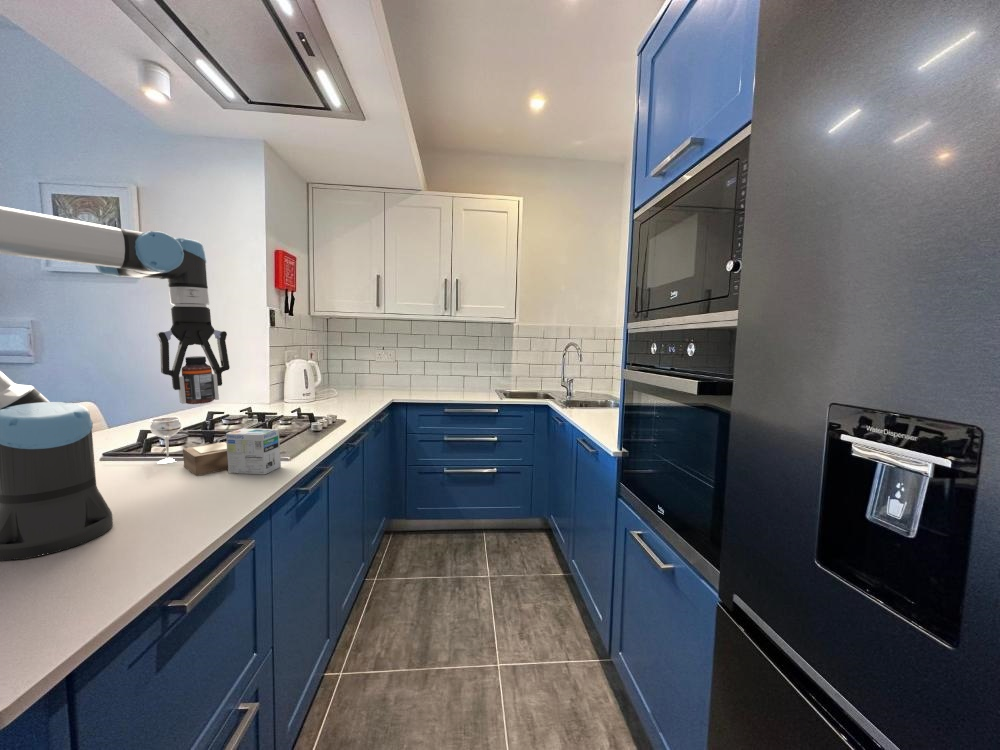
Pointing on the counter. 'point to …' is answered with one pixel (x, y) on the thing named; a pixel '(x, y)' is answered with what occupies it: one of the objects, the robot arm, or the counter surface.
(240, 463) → the light bulb box
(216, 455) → the walnut riser
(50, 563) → the counter surface
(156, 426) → the wineglass
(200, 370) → the supplement bottle
